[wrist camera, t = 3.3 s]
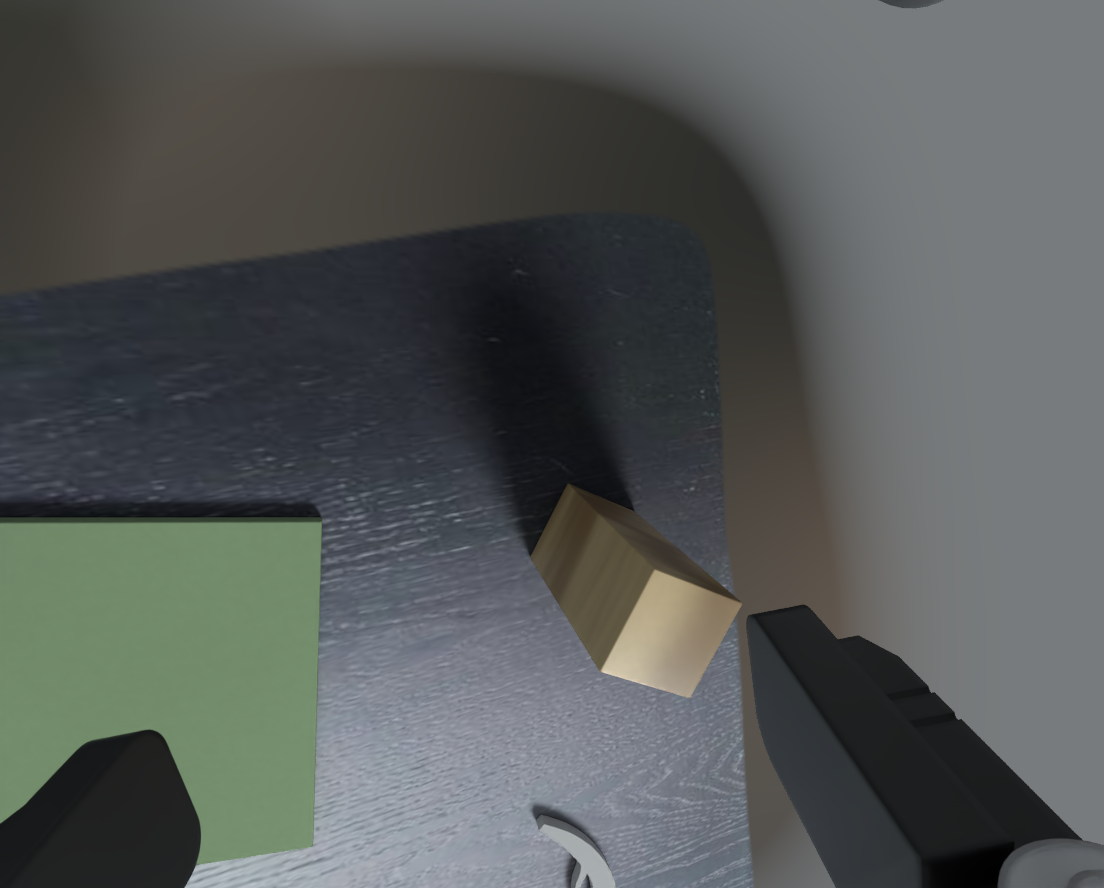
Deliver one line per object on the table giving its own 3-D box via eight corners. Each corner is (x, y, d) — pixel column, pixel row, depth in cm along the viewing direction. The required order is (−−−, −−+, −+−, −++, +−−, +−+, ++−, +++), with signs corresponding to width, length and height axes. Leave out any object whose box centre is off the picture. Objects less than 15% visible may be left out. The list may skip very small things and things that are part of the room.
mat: (-273, 516, 22) (-289, 522, 21) (322, 516, 28) (321, 521, 28) (-190, 914, 26) (-202, 928, 26) (313, 837, 32) (312, 847, 32)
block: (529, 557, 32) (599, 671, 23) (567, 482, 31) (654, 568, 22) (598, 582, 34) (690, 698, 24) (635, 512, 33) (743, 603, 24)
